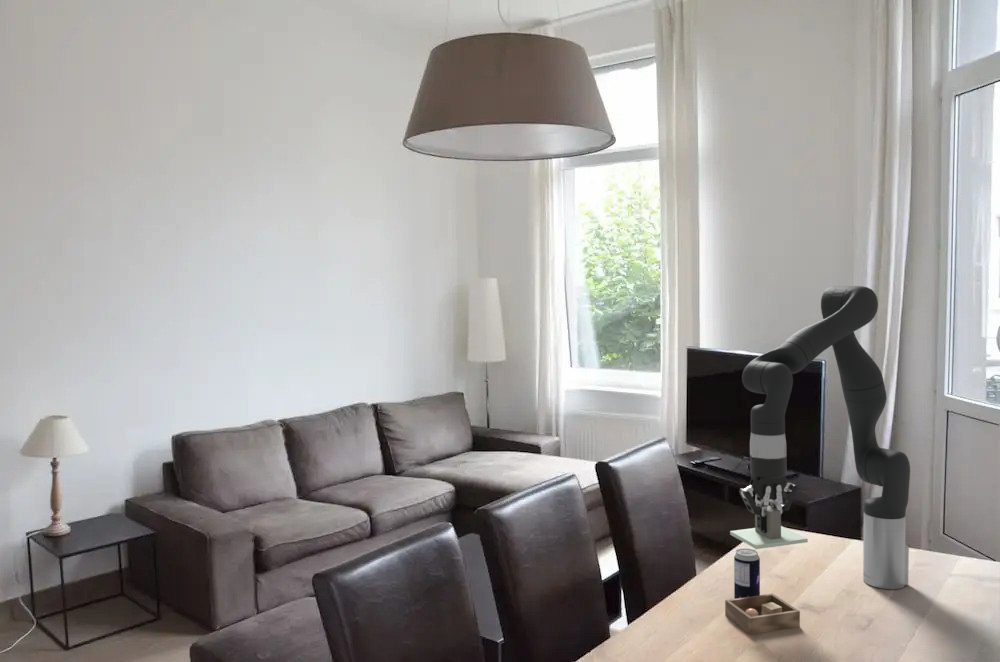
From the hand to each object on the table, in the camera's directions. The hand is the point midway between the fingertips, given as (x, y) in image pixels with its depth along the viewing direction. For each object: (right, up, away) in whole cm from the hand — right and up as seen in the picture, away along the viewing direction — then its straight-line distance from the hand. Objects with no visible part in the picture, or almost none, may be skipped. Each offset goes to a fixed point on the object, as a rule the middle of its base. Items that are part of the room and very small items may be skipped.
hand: (769, 530), depth 171 cm
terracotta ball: (-4, -18, 0) cm, 19 cm away
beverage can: (-1, -20, +12) cm, 23 cm away
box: (-1, -20, +1) cm, 21 cm away
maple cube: (+1, -20, +1) cm, 20 cm away
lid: (0, -2, 0) cm, 2 cm away
